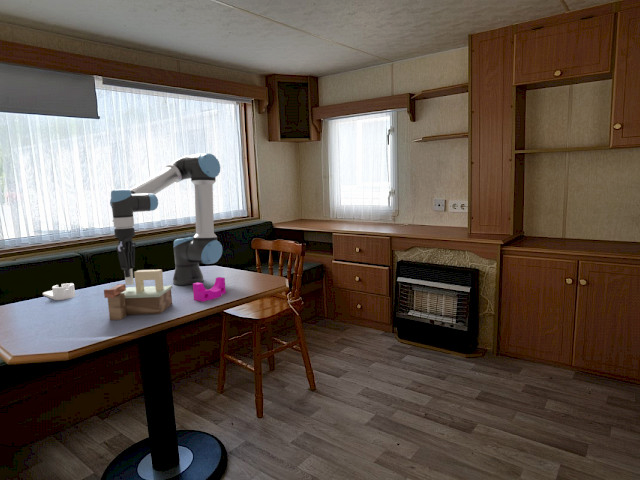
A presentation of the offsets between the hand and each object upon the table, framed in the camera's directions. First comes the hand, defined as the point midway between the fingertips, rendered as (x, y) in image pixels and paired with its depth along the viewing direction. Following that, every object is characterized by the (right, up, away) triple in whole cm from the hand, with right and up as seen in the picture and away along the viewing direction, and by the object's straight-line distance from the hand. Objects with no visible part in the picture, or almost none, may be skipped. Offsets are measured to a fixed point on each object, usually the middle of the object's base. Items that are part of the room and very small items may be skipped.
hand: (129, 284), depth 175 cm
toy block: (+30, -8, +16) cm, 35 cm away
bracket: (-45, -9, +26) cm, 53 cm away
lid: (+6, -3, -2) cm, 7 cm away
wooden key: (0, -3, -12) cm, 12 cm away
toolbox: (+6, -11, -3) cm, 13 cm away
